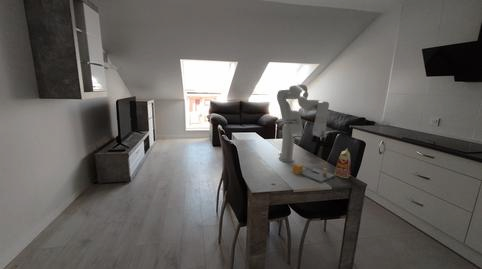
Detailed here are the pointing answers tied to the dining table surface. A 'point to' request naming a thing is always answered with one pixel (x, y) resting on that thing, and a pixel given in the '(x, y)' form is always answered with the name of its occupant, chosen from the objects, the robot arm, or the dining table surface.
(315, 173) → the plate
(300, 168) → the amber toy cube
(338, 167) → the milk carton
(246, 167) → the dining table surface
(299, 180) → the dining table surface
